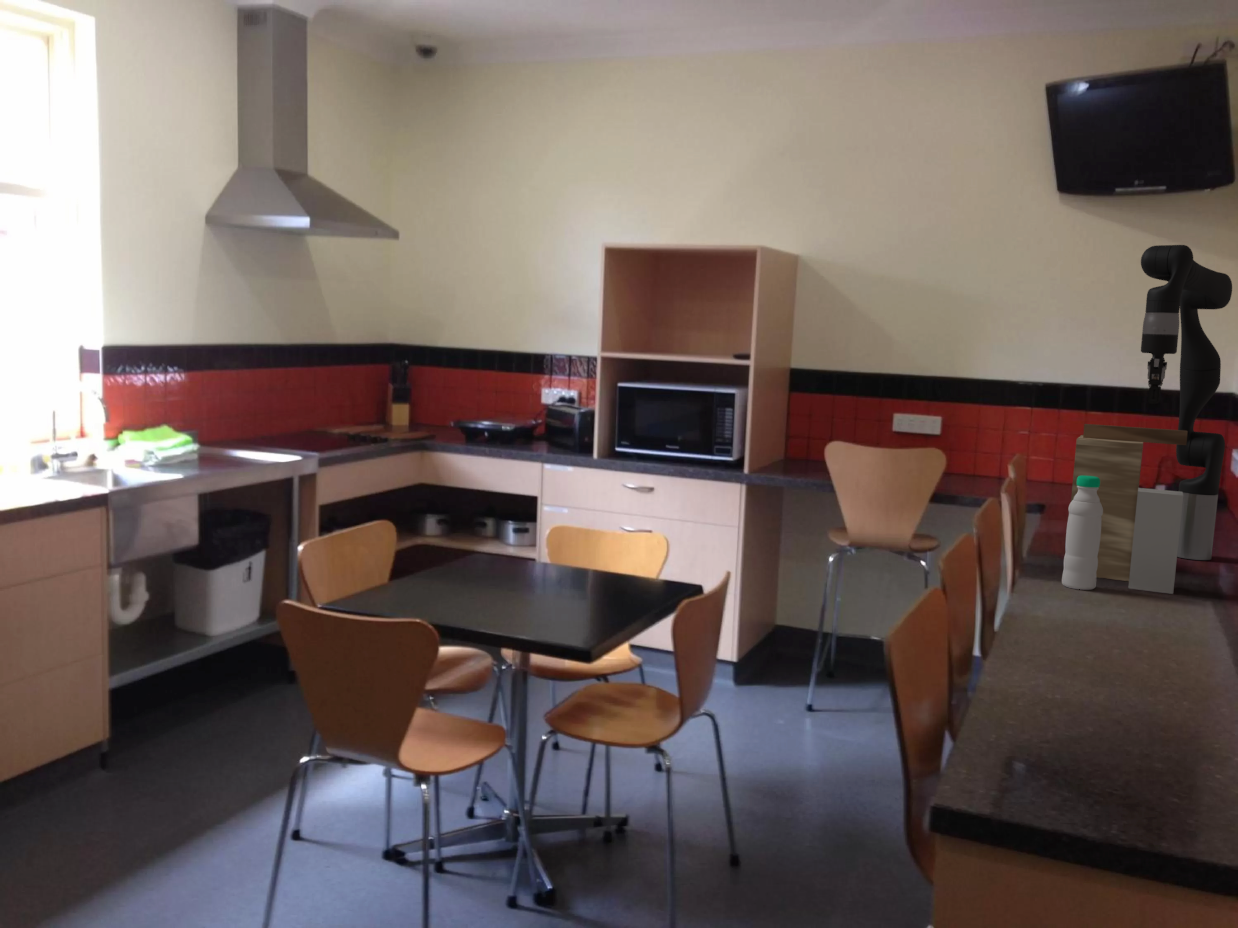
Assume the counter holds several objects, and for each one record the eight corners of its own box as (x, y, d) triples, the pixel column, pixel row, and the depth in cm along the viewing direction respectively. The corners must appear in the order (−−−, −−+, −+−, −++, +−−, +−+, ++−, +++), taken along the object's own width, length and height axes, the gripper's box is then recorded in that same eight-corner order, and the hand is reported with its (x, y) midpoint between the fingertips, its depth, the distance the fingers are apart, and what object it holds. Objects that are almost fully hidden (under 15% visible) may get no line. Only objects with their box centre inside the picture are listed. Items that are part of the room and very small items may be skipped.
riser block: (1129, 581, 250) (1138, 487, 247) (1172, 587, 246) (1182, 491, 243) (1128, 588, 242) (1137, 491, 240) (1173, 593, 239) (1183, 495, 236)
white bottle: (1094, 585, 244) (1104, 475, 241) (1096, 592, 237) (1107, 479, 234) (1060, 582, 246) (1070, 473, 243) (1062, 588, 239) (1072, 476, 237)
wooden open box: (1069, 561, 273) (1081, 435, 269) (1130, 568, 267) (1143, 439, 263) (1064, 573, 257) (1076, 439, 253) (1129, 581, 251) (1142, 444, 247)
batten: (1084, 437, 262) (1085, 423, 262) (1185, 444, 253) (1187, 430, 252) (1083, 437, 259) (1084, 424, 259) (1186, 445, 250) (1187, 431, 249)
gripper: (1177, 333, 242) (1171, 405, 244) (1178, 333, 254) (1172, 402, 256) (1140, 332, 245) (1134, 403, 247) (1143, 332, 258) (1137, 400, 260)
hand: (1153, 402), depth 252 cm, fingers open, 8 cm apart
